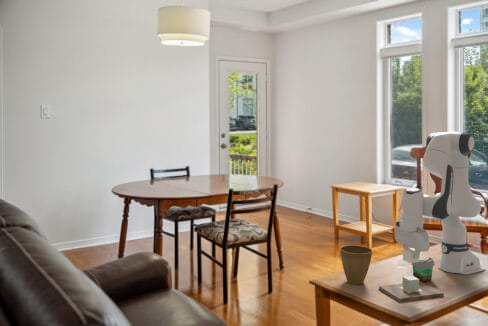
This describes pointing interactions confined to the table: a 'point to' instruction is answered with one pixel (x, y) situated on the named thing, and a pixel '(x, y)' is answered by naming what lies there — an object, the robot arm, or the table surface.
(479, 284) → the table surface
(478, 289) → the table surface
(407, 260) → the cream block
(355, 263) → the plant pot
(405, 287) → the sage green block
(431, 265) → the food container
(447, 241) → the robot arm
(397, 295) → the board
